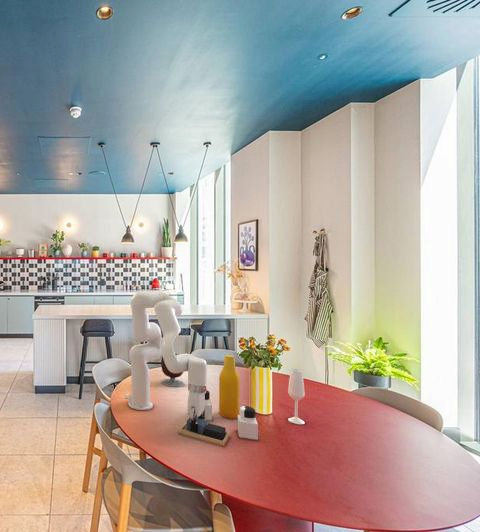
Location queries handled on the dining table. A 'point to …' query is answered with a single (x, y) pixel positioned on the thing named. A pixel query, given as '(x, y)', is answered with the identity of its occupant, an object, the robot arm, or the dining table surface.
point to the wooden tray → (203, 437)
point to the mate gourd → (171, 381)
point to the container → (207, 407)
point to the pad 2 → (215, 431)
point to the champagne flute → (296, 392)
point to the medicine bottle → (247, 423)
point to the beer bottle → (229, 389)
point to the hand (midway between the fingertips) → (196, 428)
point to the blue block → (201, 425)
